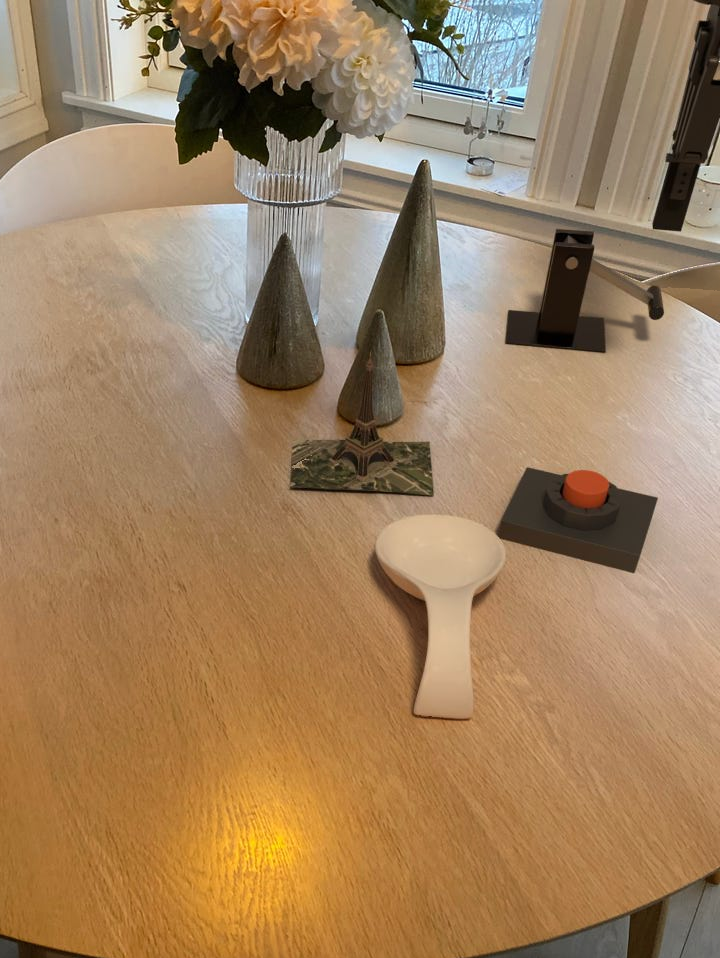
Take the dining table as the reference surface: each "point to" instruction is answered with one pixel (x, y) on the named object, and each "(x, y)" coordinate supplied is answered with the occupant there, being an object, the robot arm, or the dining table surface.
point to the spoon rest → (443, 597)
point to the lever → (629, 286)
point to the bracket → (561, 302)
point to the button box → (578, 522)
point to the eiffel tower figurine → (363, 458)
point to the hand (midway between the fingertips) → (666, 227)
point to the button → (585, 489)
